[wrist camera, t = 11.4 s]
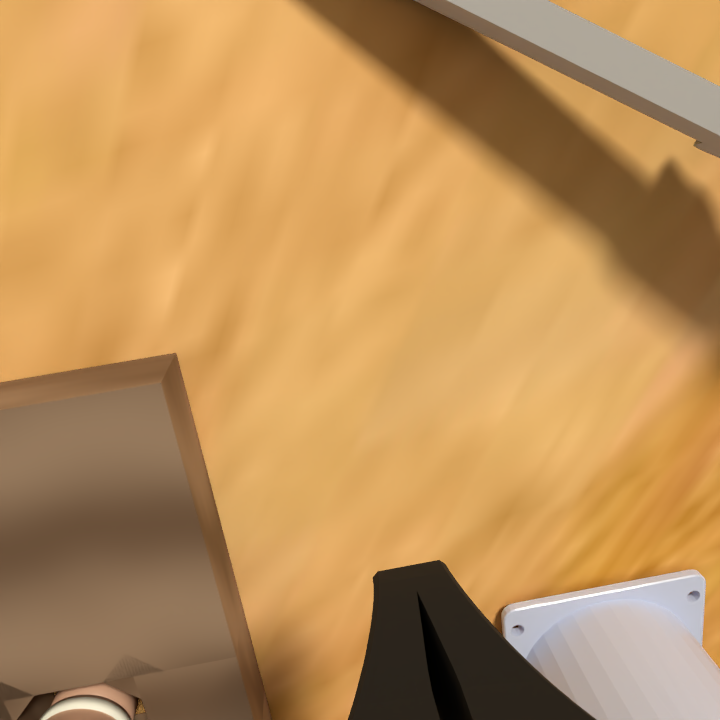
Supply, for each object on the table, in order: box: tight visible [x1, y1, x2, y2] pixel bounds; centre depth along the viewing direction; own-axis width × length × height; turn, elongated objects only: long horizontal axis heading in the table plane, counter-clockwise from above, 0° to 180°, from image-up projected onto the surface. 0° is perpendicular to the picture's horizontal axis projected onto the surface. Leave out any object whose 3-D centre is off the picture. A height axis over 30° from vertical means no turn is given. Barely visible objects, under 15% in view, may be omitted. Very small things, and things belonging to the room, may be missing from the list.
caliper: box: [414, 0, 720, 158], centre depth 16 cm, size 20×1×6 cm, turn 66°
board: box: [0, 353, 272, 720], centre depth 22 cm, size 18×11×2 cm, turn 8°
